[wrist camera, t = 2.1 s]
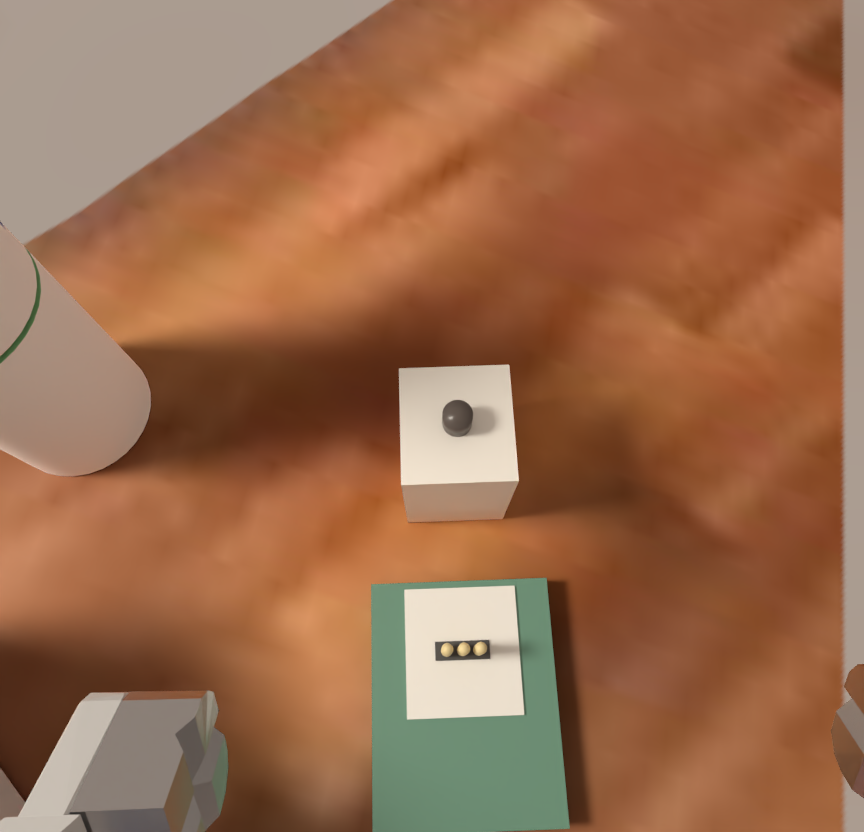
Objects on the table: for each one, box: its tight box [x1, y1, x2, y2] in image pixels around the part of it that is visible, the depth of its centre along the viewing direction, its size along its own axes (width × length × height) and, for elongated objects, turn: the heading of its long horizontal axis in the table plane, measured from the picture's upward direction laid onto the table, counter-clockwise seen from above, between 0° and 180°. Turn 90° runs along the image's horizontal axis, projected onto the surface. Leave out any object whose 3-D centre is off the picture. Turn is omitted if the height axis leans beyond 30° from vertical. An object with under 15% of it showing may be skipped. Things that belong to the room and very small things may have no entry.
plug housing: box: [399, 365, 519, 522], centre depth 31 cm, size 5×5×8 cm
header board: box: [371, 578, 570, 832], centre depth 29 cm, size 10×8×3 cm
